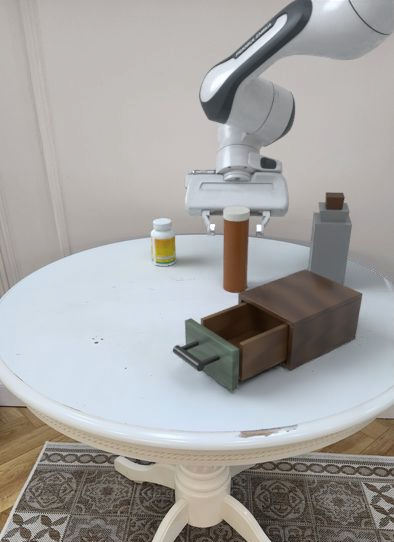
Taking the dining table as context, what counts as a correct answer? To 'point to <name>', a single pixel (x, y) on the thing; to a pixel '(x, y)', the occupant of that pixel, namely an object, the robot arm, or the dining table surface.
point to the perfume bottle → (330, 238)
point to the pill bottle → (235, 248)
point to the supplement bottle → (163, 242)
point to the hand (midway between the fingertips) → (235, 234)
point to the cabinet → (309, 313)
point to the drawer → (235, 343)
